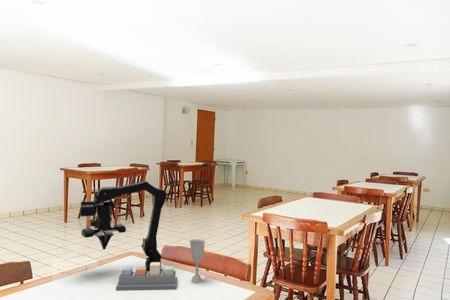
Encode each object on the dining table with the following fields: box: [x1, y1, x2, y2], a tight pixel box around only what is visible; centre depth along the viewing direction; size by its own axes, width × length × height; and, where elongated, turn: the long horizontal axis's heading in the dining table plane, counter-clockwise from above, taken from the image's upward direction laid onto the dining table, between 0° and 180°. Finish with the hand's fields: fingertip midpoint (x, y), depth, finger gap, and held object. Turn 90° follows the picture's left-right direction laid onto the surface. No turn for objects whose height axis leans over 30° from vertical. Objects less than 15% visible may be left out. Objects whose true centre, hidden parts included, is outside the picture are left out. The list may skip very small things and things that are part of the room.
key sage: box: [163, 265, 175, 276], centre depth 160 cm, size 4×4×6 cm
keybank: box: [115, 270, 178, 291], centre depth 160 cm, size 25×10×5 cm, turn 95°
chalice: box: [188, 238, 206, 284], centre depth 165 cm, size 7×7×18 cm
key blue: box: [120, 266, 133, 276], centre depth 159 cm, size 4×4×6 cm
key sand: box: [150, 262, 160, 276], centre depth 160 cm, size 4×4×6 cm
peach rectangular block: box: [135, 266, 147, 276], centre depth 159 cm, size 4×4×6 cm
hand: (103, 249), depth 169 cm, fingers closed
